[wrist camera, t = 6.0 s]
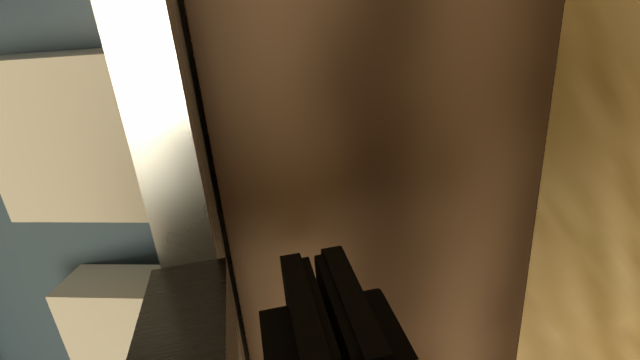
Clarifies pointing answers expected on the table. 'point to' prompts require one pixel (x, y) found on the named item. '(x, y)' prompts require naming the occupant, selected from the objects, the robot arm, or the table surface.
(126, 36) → the bar
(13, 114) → the white tile
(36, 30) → the box
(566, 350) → the table surface
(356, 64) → the walnut board
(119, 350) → the white tile
